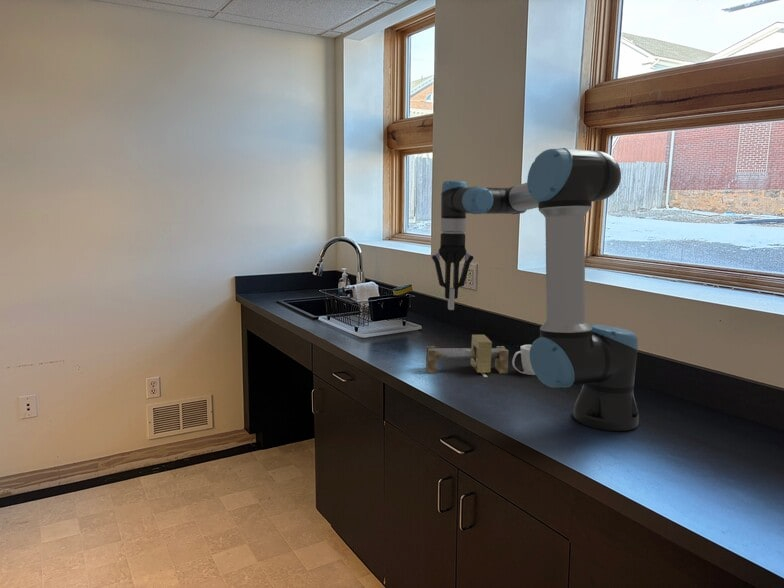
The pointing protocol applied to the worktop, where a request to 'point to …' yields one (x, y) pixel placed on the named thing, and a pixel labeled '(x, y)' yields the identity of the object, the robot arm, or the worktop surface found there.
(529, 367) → the cup
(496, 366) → the cradles
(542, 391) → the worktop surface
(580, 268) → the robot arm
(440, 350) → the pipe
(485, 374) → the tick mark
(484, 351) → the collar
